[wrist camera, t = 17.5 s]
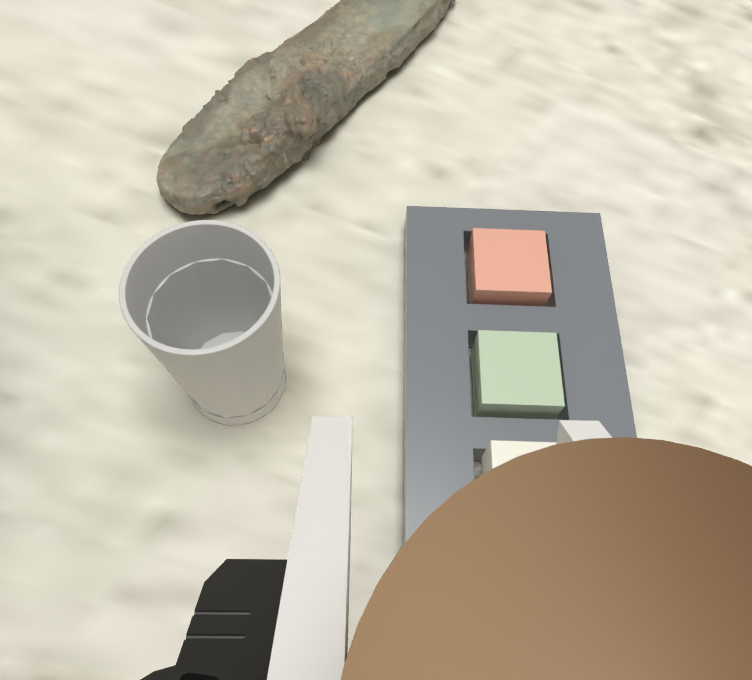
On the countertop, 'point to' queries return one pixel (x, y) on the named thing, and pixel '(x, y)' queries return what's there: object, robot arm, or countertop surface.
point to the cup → (211, 316)
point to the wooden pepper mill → (573, 572)
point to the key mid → (516, 375)
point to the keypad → (462, 321)
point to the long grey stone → (289, 101)
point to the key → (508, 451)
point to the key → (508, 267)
